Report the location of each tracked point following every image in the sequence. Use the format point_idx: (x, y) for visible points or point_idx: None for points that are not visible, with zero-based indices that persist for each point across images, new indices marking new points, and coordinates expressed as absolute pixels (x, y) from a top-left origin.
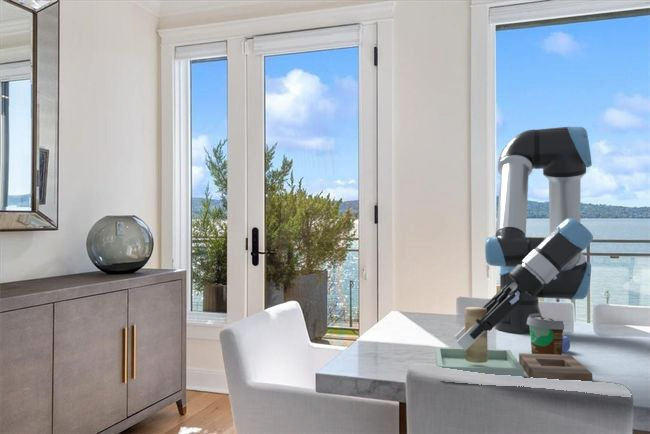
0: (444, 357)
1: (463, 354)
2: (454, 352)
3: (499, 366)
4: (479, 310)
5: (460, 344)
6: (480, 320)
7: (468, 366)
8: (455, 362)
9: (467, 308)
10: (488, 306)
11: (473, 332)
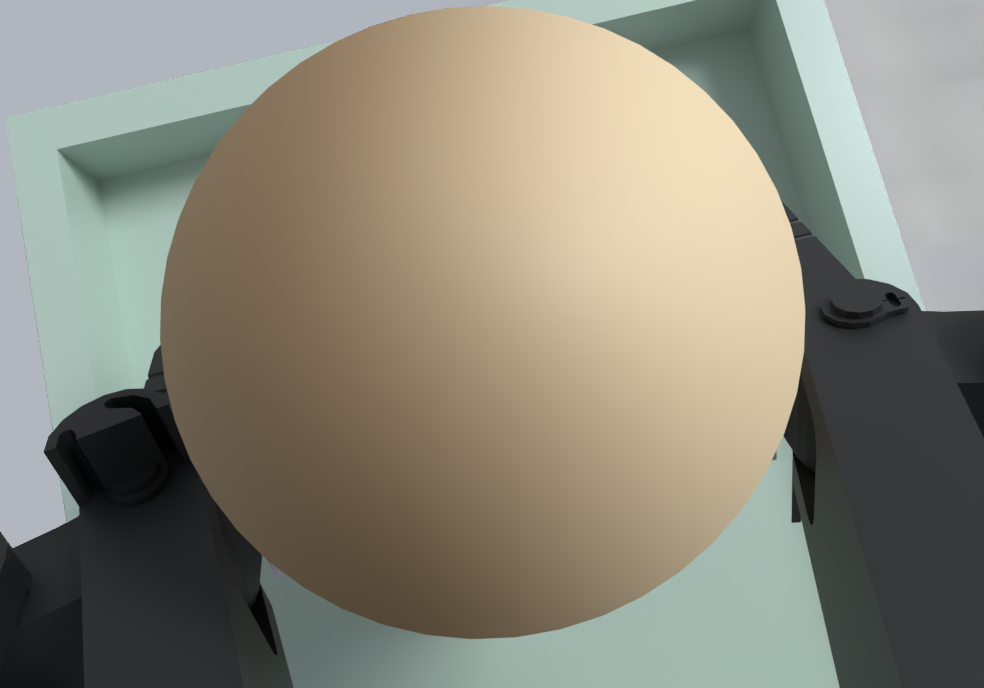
0: (722, 77)
1: (826, 244)
2: (804, 147)
3: (581, 663)
4: (195, 445)
5: None
6: (132, 495)
7: (86, 396)
8: None
9: (445, 77)
10: (886, 655)
11: (147, 383)
